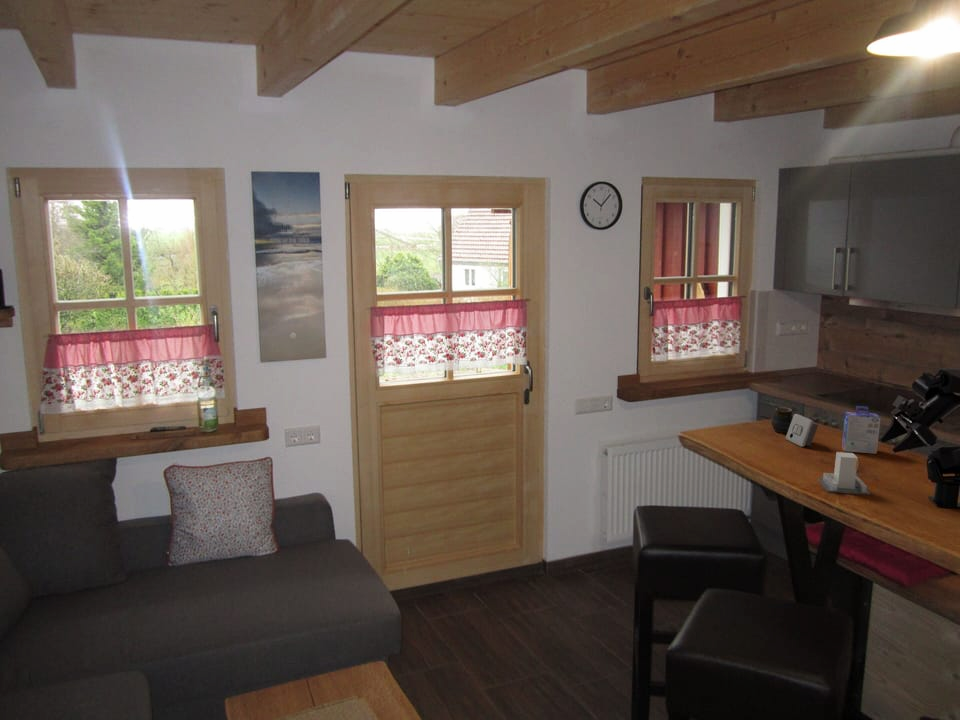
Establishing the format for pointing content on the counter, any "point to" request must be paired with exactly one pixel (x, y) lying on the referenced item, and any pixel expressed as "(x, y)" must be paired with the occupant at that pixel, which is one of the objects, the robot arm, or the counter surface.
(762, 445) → the counter surface
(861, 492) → the rail cradle
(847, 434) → the ink cartridge box
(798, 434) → the electrical switch
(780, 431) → the mate gourd
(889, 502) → the counter surface
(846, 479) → the block
